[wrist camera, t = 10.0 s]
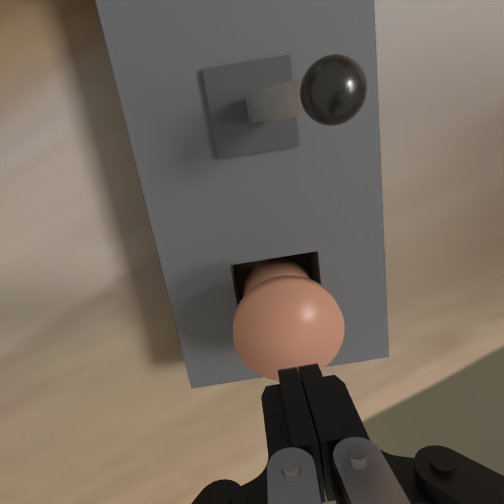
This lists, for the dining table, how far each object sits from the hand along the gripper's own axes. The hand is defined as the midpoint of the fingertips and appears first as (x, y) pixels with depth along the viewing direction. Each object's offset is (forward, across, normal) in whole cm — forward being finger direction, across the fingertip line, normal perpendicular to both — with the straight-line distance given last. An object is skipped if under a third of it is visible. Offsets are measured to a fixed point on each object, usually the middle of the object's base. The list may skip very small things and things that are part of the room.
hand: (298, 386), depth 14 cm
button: (+9, 0, 0) cm, 9 cm away
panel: (+11, 0, -10) cm, 15 cm away
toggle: (+7, 0, -10) cm, 12 cm away
